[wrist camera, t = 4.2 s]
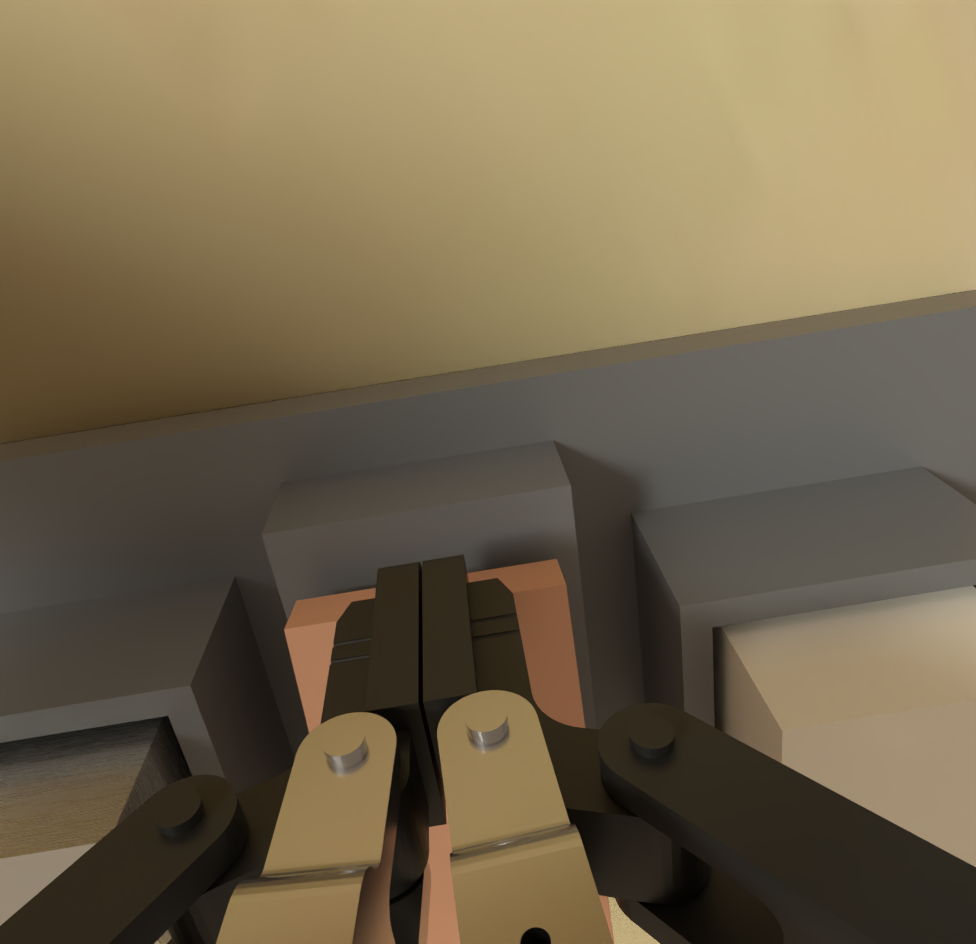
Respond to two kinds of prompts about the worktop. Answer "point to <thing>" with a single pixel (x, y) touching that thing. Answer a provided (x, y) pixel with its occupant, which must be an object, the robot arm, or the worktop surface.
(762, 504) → the control panel
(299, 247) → the worktop surface
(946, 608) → the white key
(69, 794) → the light grey block
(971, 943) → the robot arm
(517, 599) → the block
